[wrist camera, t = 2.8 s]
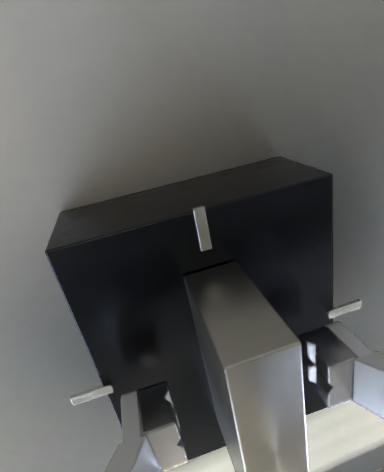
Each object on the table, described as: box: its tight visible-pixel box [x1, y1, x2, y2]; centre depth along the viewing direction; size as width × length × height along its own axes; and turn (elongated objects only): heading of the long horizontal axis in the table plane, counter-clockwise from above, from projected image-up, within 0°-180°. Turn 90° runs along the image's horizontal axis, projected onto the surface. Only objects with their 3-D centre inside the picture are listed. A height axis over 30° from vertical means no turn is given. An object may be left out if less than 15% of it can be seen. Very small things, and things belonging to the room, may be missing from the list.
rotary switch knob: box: [184, 261, 309, 472], centre depth 10 cm, size 7×2×4 cm, turn 11°
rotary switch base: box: [45, 156, 361, 460], centre depth 14 cm, size 11×11×4 cm
